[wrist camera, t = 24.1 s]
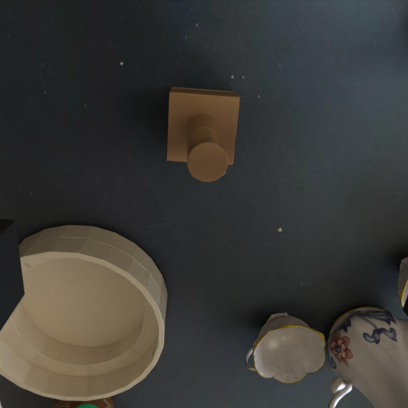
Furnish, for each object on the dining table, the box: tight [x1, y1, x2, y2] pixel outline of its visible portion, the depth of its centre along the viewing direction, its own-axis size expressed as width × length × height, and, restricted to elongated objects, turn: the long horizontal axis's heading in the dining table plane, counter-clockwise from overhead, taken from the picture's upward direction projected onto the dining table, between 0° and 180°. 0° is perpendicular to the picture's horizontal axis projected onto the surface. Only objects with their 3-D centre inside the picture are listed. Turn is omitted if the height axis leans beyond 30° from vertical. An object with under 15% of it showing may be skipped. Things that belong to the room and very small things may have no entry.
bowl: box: [0, 225, 167, 401], centre depth 41 cm, size 19×19×6 cm
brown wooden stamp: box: [167, 87, 240, 182], centre depth 30 cm, size 6×6×14 cm
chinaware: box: [245, 257, 408, 408], centre depth 40 cm, size 28×17×17 cm, turn 123°
